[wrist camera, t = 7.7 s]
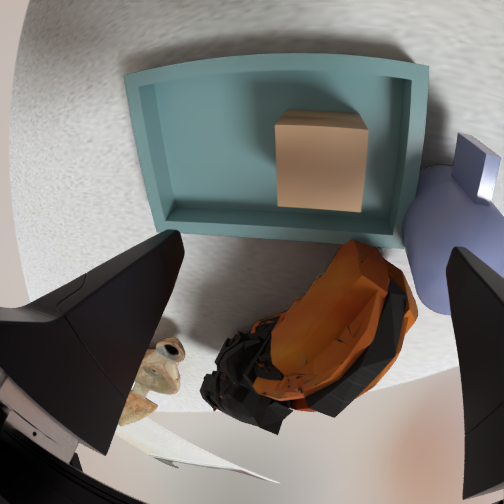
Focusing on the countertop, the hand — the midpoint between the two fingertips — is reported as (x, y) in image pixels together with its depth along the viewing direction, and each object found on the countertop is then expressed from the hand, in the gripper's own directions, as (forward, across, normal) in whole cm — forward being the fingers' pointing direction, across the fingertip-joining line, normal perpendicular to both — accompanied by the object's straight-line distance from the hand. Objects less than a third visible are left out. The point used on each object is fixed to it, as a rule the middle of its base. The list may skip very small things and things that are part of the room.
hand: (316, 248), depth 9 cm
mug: (+12, -9, +3) cm, 15 cm away
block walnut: (+11, 0, 0) cm, 11 cm away
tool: (+12, +2, +16) cm, 20 cm away
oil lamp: (+12, +20, +29) cm, 37 cm away
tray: (+12, +3, 0) cm, 12 cm away
